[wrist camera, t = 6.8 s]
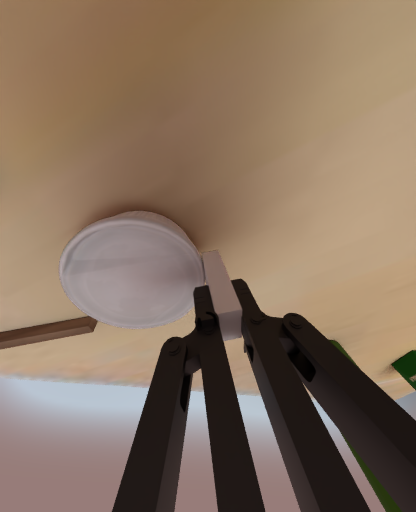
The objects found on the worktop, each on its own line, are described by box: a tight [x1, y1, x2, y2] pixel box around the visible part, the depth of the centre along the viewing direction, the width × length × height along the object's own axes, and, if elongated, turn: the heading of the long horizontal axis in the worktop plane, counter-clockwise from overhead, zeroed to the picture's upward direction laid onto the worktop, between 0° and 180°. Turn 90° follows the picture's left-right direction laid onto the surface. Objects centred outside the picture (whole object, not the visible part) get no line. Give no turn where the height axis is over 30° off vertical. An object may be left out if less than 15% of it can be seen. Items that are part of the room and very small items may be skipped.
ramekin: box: [59, 211, 205, 329], centre depth 16 cm, size 11×11×5 cm
